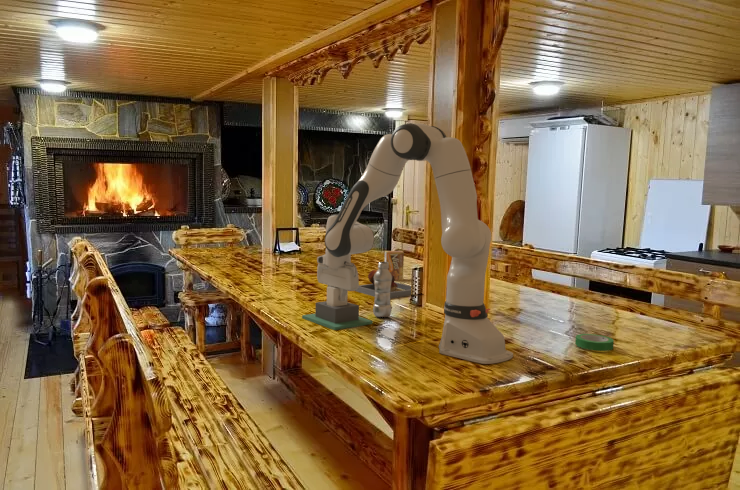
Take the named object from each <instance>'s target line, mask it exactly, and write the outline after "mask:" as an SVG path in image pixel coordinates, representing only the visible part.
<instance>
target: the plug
mask: <svg viewBox="0 0 740 490" xmlns="http://www.w3.org/2000/svg"><path fill="white" fill-rule="evenodd" d="M348 293H349V291H347V294H346V296H345V301H339V296H340V294H341V291H340V288H337V287H334V286H331V287H328V286H327V287H326V301H327V305H329V306H332V307H335V306H342V305H347V302H348V296H349V295H348Z"/></svg>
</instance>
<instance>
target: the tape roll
mask: <svg viewBox="0 0 740 490" xmlns="http://www.w3.org/2000/svg"><path fill="white" fill-rule="evenodd" d="M614 342H615V340H614V339H613V338H611V337H609V336H606V335H601V334H595V333H593V334H592V333H580V334H577V335H575V344H576V345H577V346H576V345H575V346H576V347H578V348H580V347H581V349H583V350H584V349H585V350H588V351H595V352H596V351H597V352H608V351H612V350H613V349H614Z"/></svg>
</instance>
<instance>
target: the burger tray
mask: <svg viewBox="0 0 740 490" xmlns="http://www.w3.org/2000/svg"><path fill="white" fill-rule="evenodd" d="M394 283H396V284H397V286H398V287H397V288H396V289H400V290H398V291H397V290H395V291H394V292H390V300H392V299H397V298H398V299H399V298H404V297H410V295H411V286H412V285H409V284H404V283H400V282H397V281H394ZM354 291H355V292H358V293H361V294H364V295H368V296H371V297H374V298H375V286H374V285H373V284H372V283H370V284H359V287H358V289H357V290H354Z"/></svg>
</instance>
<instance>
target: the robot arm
mask: <svg viewBox="0 0 740 490" xmlns="http://www.w3.org/2000/svg"><path fill="white" fill-rule="evenodd" d="M408 161H416V162H425V161H427V162H428V163H429V164H430V167H431V169H432V173H433V178H434V182H435V187H436V191H437V197H438V201H439V207H440V221H441V223H440V224H441V239H440V242H441V247H442V249H443V251H444V253H446V254H447V255H449V256H450V257H451V261H450V265H449V270H448V273H447V275H446V292H445V293H446V294H445V295H446V296H445V301H444V305H443V313H444V315H445V316H444V322H443V328H442V334H441V339H440V342H439V345H438V348H439V350H438V351H439V352H438V353H439V354H441V355H445V356H449V357H454V358H458V359H462V360H465V361H469V362H472V363H473V362H474V363H477V364H482V365H488V364H489V365H490V364H498V363H502V362H506V361H509V360H512V359H513V358H514V352H512V351H510V350H508V349H506V341H505V336H504V334H503V333H502V332H501V331H500V330H499V329H498V328H497V327H496V326H495V325H494V323H493V322H492V321H491V320H490V319H489V318H488V314H489V313H491V311H490V310H491V308H486V305H485V303H484V296H485V295H484V294H485V278H486V271H487V267H488V266H487V265H488V261H489V255H490V254H489V253H490V247H491V242H492V232H491V229H490V227H489V226H488V225H487V223H484V221H482V220H480V219H479V217H478V205H477V204H478V203H477V201H478V194H477V190H476V184H475V182H474V178H473V172H472V168H471V164H470V161H469V157H468V155H467V152H466V150H465V148H464V146H463V143H462V141H460V139H458V138H456V137H451V136H450V137H448V136H447V135H446V133H445V132H444V131H443V129H441V128H439V127H436V126H433V125H428V124H425V123H413V122H412V123H411V122H408V123H404V124H401V125H400V126H398V127H396V128H395V129H394V130H393V132H392V133H388V134H384V135H383V136H382V137H381V138H380V139H379V141H378V142H377V144H376V146H375V147H374V149H373V152H372V153H371V156H370V159H369V160H368V164H367V166H366V168H365V169H364V172H363V173H362V175H361V177H360V178H359V180H358V181H357V182H356V183H355V184H354V185H353V186H352V187H351V189H350V191H349V193H348V194H347V196H346V198H345V200H344V203H343V204H342V206H341V208H340V211H339V213H336V214H335V213H334V214H331V215H329V216H328V218H327V222H326V225H325V236H324V246H325V254H323V255H320V256H317V257H316V262H317V268H316V279H317V282H318V283H319V284H323V285H327V287H331V286H334V287H337V288H340V291H341V294H340V296H339V301H345V296H346V294H347V291H348V292H352V291H355V290H357V289H358V287H359V285H360V284H359V279H360V278H359V272H358V268H357V266H356V265H355V263H353V262H351V261H352V260H351V259H352V255H357V254H363V253H366V252H367V253H368V252H370V251H371V249H372V248H373V247H374V244H375V234H374V231H373V229H372V228H371V227H370V226H368V225H365V224H362V223H360V222H359V221H358V219H359V217H360V216H361V213H362V211H363V209H364V208H366V207H367V206H368V205H369V204H370V203H372V202H373V201H376V200H377V199H381V198H383V197H386V196H387V195H389V194H391V193H392V192H393V191H394V189H395V188H396V187H397V185H398V183H399V181H400V178H401V175H402V173H403V170H404V167H405V166H406V163H408Z"/></svg>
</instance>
